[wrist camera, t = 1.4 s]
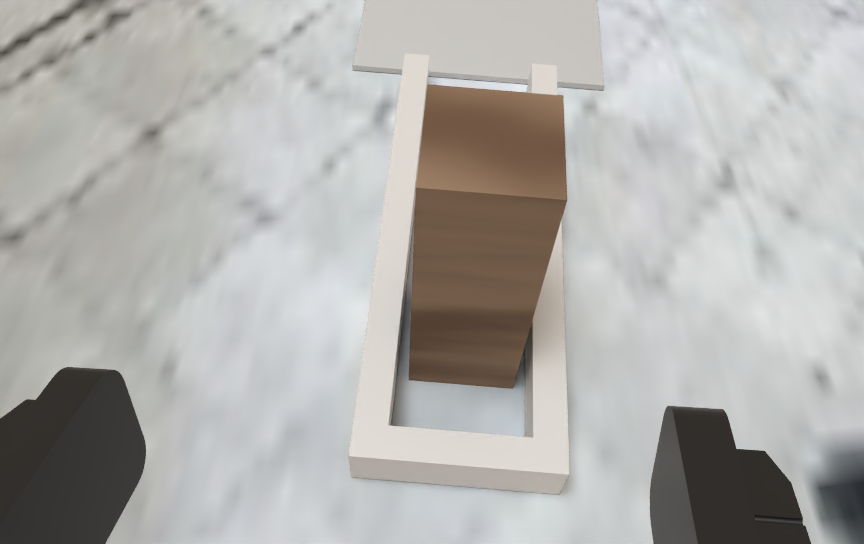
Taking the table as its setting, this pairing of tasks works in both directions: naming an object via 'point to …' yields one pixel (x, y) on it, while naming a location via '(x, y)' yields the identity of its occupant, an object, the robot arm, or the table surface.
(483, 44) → the mat
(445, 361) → the walnut block
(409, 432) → the chute
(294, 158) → the table surface
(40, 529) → the robot arm
